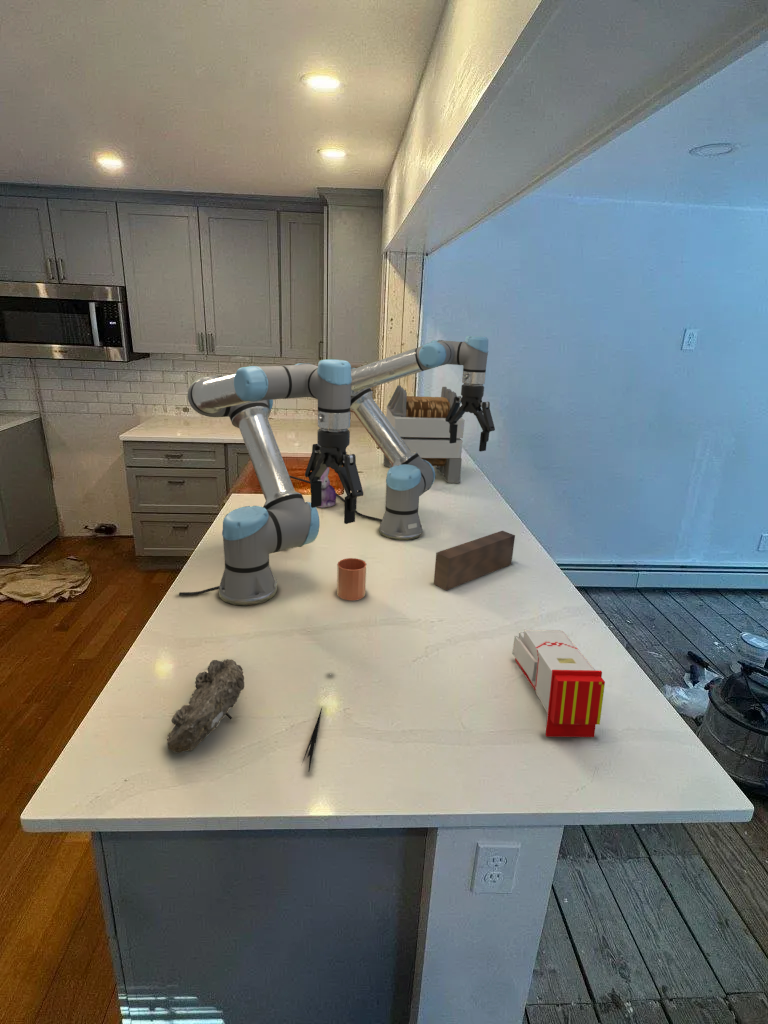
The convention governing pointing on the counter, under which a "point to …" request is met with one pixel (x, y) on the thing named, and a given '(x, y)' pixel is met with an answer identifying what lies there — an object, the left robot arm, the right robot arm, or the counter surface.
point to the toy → (561, 681)
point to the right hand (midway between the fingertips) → (467, 446)
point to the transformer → (428, 429)
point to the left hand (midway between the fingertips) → (332, 514)
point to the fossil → (206, 705)
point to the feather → (313, 740)
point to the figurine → (327, 491)
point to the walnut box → (473, 559)
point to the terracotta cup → (351, 579)
